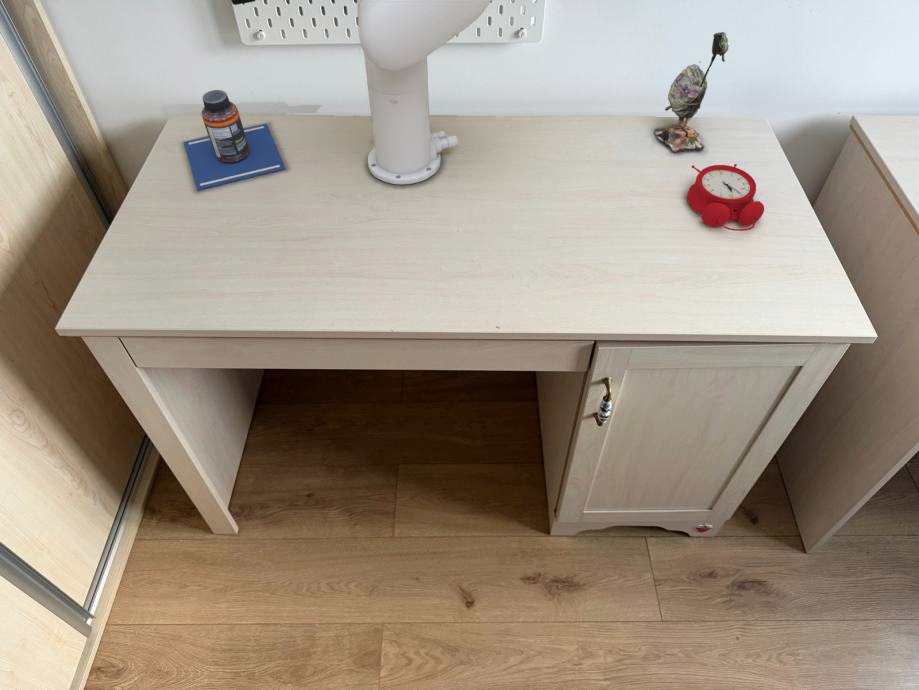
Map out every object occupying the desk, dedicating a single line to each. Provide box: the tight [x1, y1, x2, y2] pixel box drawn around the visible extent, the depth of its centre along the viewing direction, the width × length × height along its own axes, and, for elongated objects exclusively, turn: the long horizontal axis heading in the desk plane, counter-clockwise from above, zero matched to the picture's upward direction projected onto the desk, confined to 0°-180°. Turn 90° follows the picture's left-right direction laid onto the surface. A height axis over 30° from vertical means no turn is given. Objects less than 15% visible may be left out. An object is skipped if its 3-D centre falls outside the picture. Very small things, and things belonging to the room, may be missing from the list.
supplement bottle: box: [201, 89, 249, 163], centre depth 115 cm, size 6×6×11 cm
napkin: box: [183, 123, 286, 191], centre depth 119 cm, size 15×15×1 cm
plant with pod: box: [653, 31, 730, 153], centre depth 114 cm, size 8×11×20 cm
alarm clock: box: [686, 163, 765, 232], centre depth 107 cm, size 10×6×15 cm
